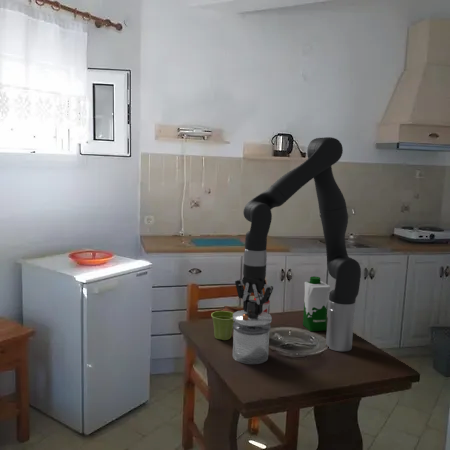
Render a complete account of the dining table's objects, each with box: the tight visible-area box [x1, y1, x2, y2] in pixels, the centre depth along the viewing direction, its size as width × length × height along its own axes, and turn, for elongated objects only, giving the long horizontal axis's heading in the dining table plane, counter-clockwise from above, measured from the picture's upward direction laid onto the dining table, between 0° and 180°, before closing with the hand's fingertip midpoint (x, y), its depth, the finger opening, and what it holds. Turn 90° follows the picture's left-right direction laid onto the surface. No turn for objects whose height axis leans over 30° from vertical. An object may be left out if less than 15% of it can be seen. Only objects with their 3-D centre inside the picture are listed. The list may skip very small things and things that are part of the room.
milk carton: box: [302, 276, 332, 332], centre depth 193 cm, size 9×9×20 cm
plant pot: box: [210, 310, 234, 341], centre depth 180 cm, size 9×9×9 cm
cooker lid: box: [233, 299, 273, 327], centre depth 162 cm, size 13×13×6 cm
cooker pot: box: [232, 322, 272, 365], centre depth 164 cm, size 13×13×11 cm
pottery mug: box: [220, 305, 240, 313], centre depth 194 cm, size 12×9×8 cm
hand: (252, 312), depth 162 cm, fingers closed on cooker lid, 4 cm apart
